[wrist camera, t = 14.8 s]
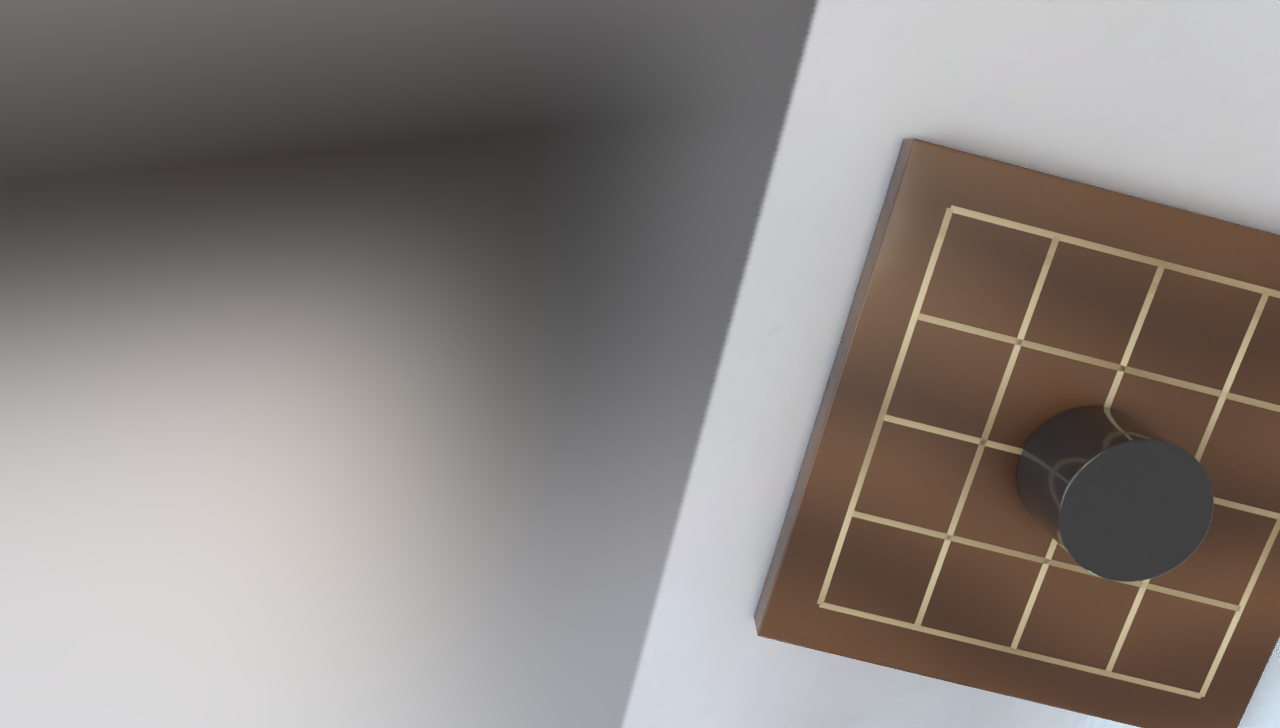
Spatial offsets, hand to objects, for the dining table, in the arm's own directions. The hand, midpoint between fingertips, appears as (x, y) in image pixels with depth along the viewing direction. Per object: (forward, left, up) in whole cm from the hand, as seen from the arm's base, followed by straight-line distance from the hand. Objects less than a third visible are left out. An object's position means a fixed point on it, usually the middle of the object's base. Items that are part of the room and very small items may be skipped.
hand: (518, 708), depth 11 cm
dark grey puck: (+16, +10, -25) cm, 32 cm away
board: (+16, +10, -27) cm, 33 cm away
